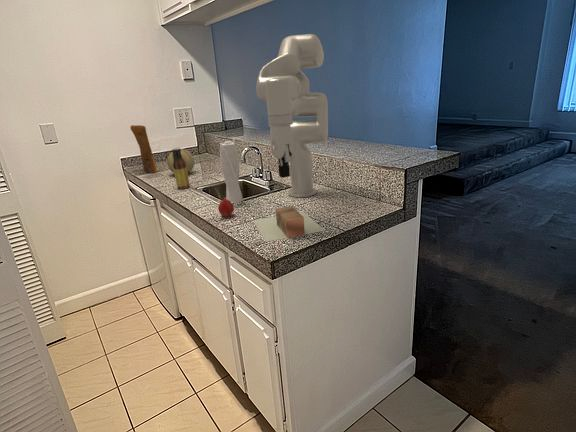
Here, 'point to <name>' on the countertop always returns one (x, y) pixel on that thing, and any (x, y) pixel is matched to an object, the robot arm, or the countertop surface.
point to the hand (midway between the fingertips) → (284, 176)
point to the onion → (226, 207)
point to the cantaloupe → (187, 158)
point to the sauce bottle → (180, 170)
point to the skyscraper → (230, 170)
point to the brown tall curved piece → (144, 148)
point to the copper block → (290, 221)
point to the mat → (274, 232)
